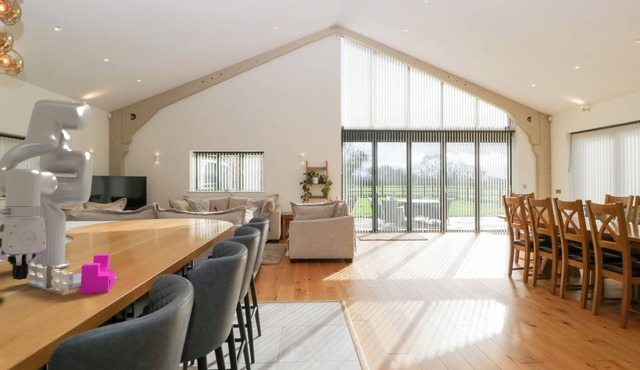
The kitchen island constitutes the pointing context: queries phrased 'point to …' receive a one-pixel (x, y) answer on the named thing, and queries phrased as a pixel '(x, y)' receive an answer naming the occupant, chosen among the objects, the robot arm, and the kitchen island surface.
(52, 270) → the fixed panel and post
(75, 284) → the mat
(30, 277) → the swing panel
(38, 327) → the kitchen island surface
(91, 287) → the toy block
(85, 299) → the kitchen island surface
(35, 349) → the kitchen island surface
